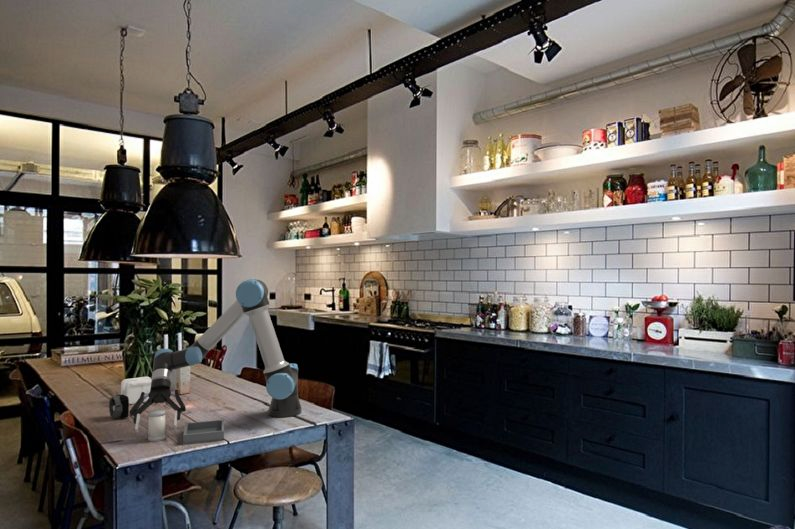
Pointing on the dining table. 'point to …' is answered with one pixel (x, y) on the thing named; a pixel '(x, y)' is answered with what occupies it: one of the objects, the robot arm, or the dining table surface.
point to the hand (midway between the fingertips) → (156, 428)
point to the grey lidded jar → (156, 425)
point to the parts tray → (203, 432)
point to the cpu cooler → (119, 406)
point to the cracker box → (181, 380)
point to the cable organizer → (135, 388)
